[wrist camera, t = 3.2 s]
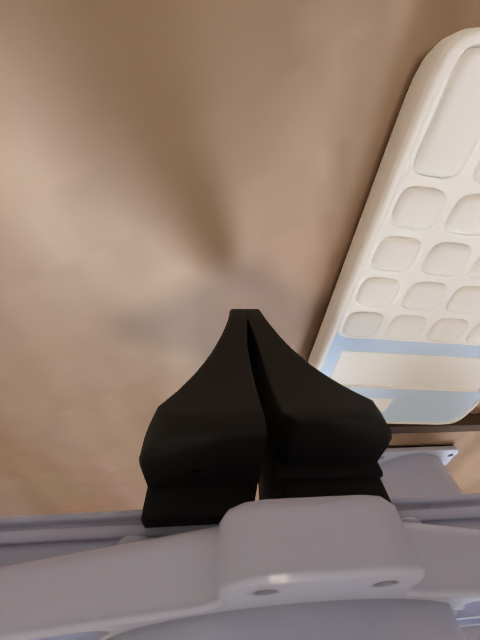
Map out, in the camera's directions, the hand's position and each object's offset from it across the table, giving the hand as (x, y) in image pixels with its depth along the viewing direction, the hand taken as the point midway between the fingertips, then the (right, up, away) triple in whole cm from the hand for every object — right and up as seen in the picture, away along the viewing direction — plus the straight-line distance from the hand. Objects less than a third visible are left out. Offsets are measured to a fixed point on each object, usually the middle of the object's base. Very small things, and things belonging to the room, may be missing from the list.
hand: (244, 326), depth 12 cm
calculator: (+11, +2, +3) cm, 12 cm away
